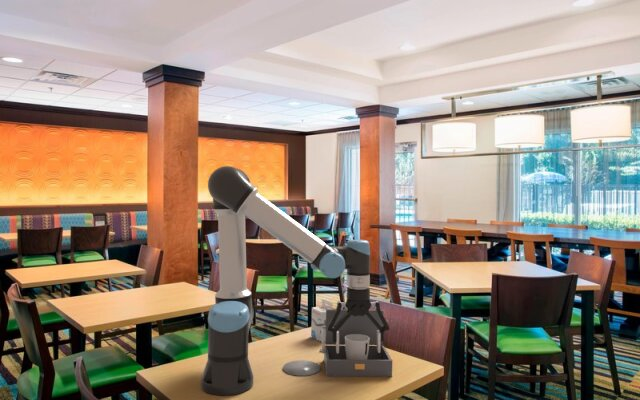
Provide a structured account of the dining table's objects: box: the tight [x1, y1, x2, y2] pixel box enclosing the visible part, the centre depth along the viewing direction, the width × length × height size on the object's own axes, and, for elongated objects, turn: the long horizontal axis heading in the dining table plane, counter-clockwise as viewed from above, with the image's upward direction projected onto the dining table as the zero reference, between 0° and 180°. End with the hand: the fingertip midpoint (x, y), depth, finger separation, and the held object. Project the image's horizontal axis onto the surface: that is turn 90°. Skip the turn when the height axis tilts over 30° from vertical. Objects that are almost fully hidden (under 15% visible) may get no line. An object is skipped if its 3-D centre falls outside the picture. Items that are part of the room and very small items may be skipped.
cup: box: [345, 334, 370, 360], centre depth 154 cm, size 8×8×10 cm
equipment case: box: [321, 308, 393, 378], centre depth 154 cm, size 22×16×17 cm
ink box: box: [310, 298, 334, 343], centre depth 185 cm, size 9×5×15 cm, turn 30°
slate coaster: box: [282, 359, 321, 377], centre depth 152 cm, size 12×12×1 cm
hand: (358, 351), depth 154 cm, fingers open, 13 cm apart
